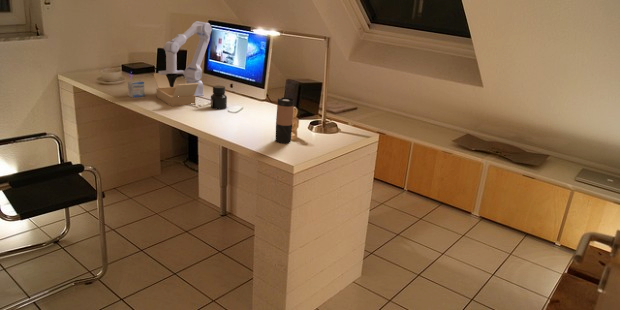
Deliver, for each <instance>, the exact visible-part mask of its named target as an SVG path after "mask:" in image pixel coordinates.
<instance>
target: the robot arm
mask: <svg viewBox="0 0 620 310" xmlns="http://www.w3.org/2000/svg"><path fill="white" fill-rule="evenodd" d="M212 30H213V29H212V25H211V24H210V23H209V22H204V21H198V20H196V21H195V22H193V23H192V24H191V26H190V27H188V28H187V30H185V31H184V32H183V33H179V34H178V33H177V34H176V36H175V37H174V38H172V39H171V40H170V41H166V42H165V44H164V45H163V51H165V56H166V57H165V62H166V63H165V65H166V68H165V70H158V73H159V75H166V76H167V78H168V81H169V84H170V87H174V82H175V80H176V81H177V78H178V75H183V77H184V79H185V80H186V82H185V84H192V83H199V84H198V86H197V89H196V91H195V93H194V95H195V97H201V96H204V83H203V81H202V74H203V73H202V72H203V69H202V67H201V65H202V62H203V60H204V56H205V54H206V51H207V48H208V45H209V42H210V39H211V34H212ZM193 35H197V36H198V38H199V40H198V43H197V46H196V49H195V50H194V55H193V57H192V60H191V63H190V64H188V65H187V66H186V68H185V69H184V70H183V69H179V70H178V69H177V68H178V67H177V66H178V65H177V64H178V62H177V53H178V52H179V50H180V48H181V47H182V46H183V45H185V44H186V42H187V40H188V39H189V38H191V37H192V36H193Z"/></svg>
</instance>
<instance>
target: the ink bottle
mask: <svg viewBox="0 0 620 310" xmlns="http://www.w3.org/2000/svg"><path fill="white" fill-rule="evenodd" d="M227 102H228V97H227V95H226V86H225V85H220V84H218V85H213V86H212V94H211V95H210V108H211V109H216V110H225V109H227V104H228V103H227Z"/></svg>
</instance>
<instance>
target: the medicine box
mask: <svg viewBox="0 0 620 310" xmlns="http://www.w3.org/2000/svg"><path fill="white" fill-rule="evenodd" d="M127 90H128V97H130V98H133V99H134V98H140V97H142V98H143V97H145V81H144V80H143V81H142V80H135V81H134V80H133V81H127Z"/></svg>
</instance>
